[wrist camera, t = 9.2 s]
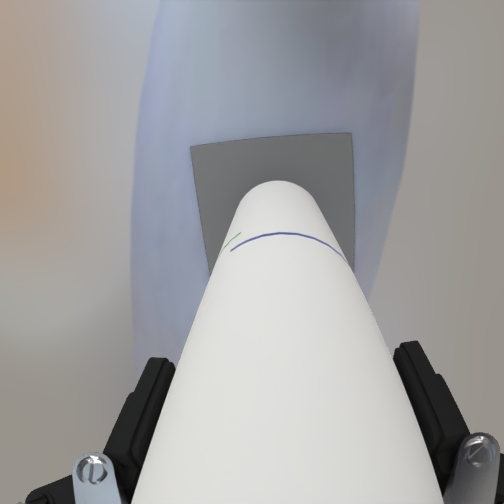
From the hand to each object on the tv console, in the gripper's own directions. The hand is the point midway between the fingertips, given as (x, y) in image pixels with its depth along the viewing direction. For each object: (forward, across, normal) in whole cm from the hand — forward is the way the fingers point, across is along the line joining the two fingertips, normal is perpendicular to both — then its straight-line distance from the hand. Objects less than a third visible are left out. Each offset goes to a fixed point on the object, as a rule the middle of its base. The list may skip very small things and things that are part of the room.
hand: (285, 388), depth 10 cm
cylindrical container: (+18, 0, 0) cm, 18 cm away
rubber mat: (+21, 0, 0) cm, 21 cm away
